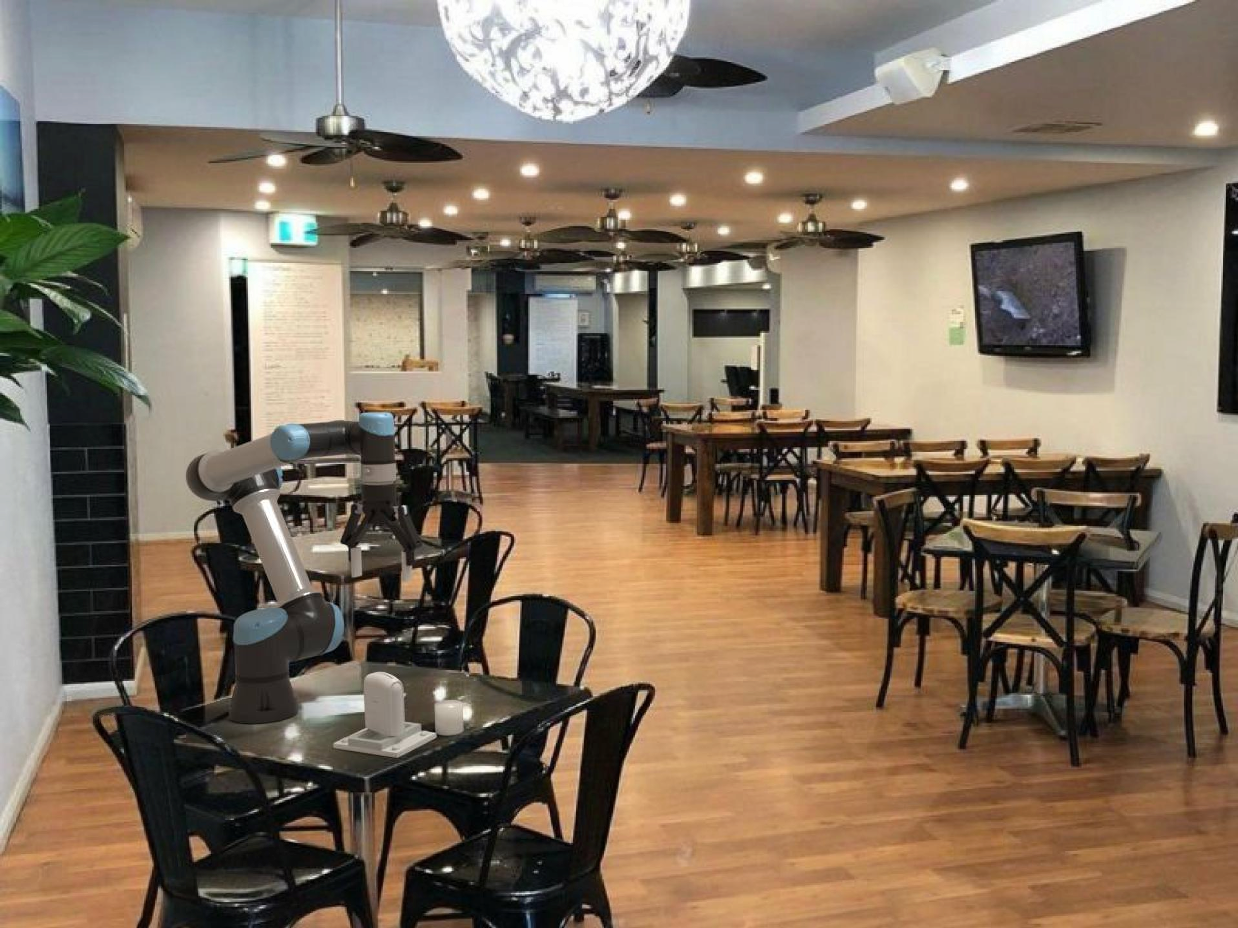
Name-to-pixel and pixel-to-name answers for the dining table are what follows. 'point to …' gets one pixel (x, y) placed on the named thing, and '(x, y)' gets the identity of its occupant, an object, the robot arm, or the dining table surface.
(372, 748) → the dock plate
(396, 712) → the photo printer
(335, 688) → the dining table surface
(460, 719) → the white rounded cylinder
